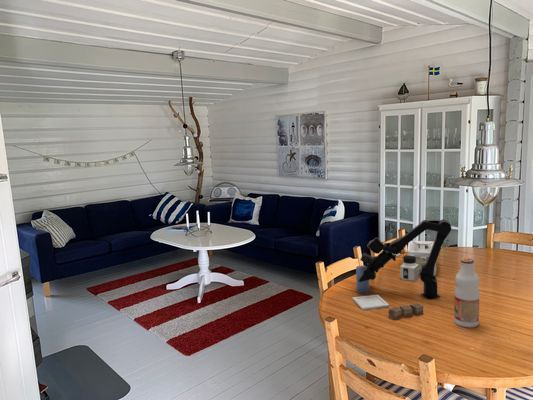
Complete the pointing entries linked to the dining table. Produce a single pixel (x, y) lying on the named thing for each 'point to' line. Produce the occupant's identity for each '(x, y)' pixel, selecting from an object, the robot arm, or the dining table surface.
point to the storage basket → (420, 252)
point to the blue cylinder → (361, 286)
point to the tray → (370, 302)
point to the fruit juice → (466, 295)
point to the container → (409, 268)
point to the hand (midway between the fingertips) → (360, 279)
